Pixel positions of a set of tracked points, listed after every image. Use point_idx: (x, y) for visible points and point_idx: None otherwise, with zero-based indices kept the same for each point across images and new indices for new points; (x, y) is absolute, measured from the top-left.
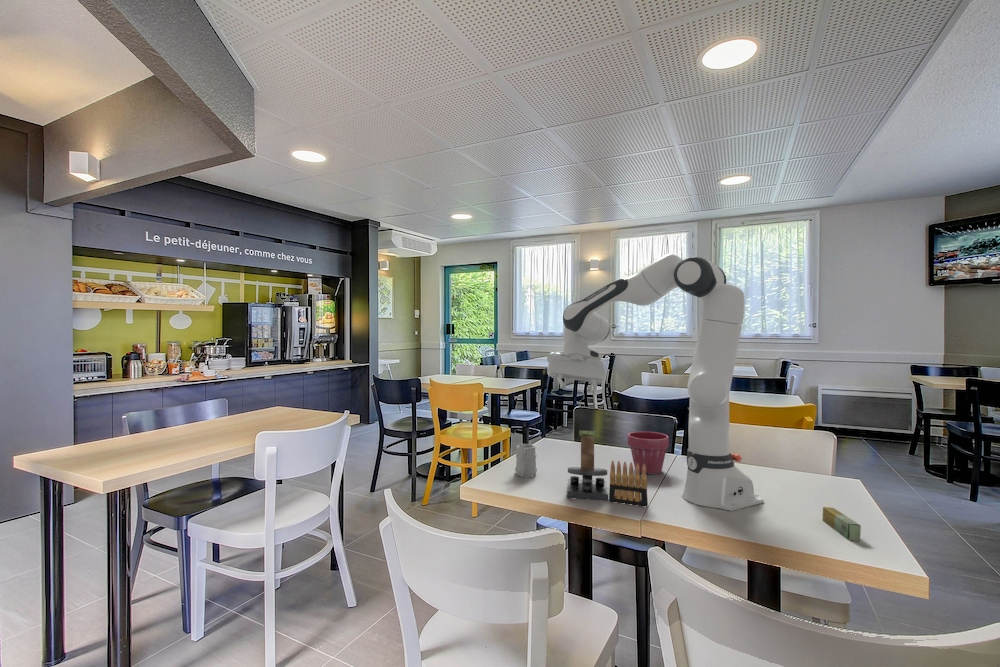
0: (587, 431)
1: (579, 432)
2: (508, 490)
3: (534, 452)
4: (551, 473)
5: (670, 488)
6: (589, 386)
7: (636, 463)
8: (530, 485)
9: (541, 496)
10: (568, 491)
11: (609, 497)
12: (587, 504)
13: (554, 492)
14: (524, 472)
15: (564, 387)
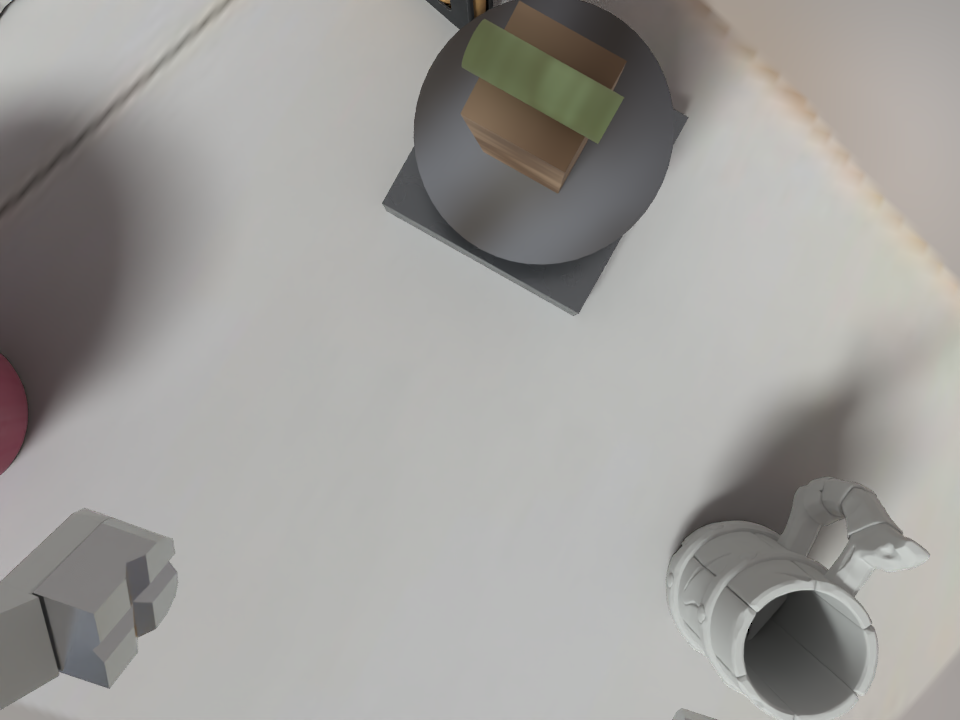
0: (550, 64)
1: (622, 97)
2: (931, 340)
3: (741, 582)
4: (569, 549)
5: (45, 86)
6: (79, 588)
7: (6, 413)
8: (782, 380)
9: (795, 196)
10: (680, 114)
11: (491, 3)
12: (618, 17)
13: (701, 231)
14: (773, 532)
15: (692, 713)
